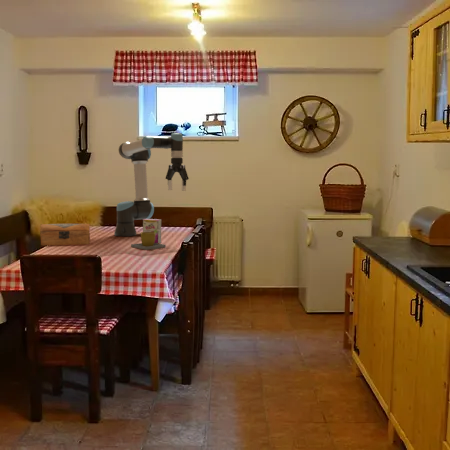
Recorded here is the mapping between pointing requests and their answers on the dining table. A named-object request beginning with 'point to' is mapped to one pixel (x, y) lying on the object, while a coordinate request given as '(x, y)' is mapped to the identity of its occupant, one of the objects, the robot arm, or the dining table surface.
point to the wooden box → (65, 234)
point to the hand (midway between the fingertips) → (176, 190)
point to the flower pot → (147, 238)
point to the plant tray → (148, 246)
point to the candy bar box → (153, 228)
